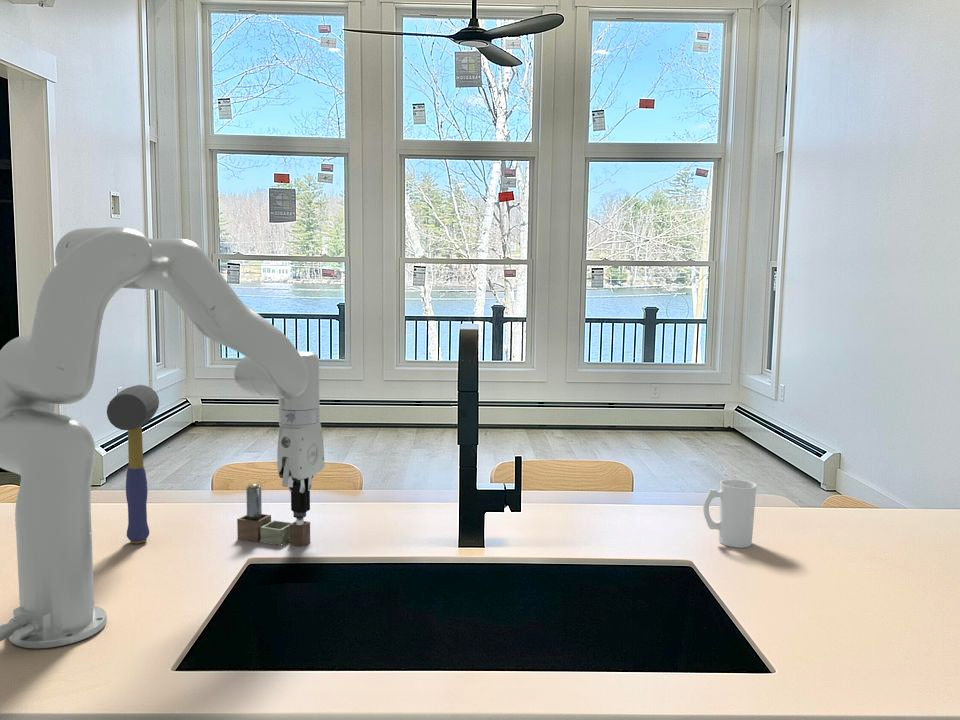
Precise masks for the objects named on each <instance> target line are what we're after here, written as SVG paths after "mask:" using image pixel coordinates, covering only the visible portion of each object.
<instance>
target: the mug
mask: <svg viewBox="0 0 960 720" xmlns="http://www.w3.org/2000/svg"><path fill="white" fill-rule="evenodd" d="M719 484H720V486H719V490H717V489H716V488H715V489H713V488H709V490H708V493H707V494H706V497H705V499H704V502H703V515H704V518H705V522H706V524H707V527H708V528H709V530H716V531H717V530H718V542H719V543H720V544H721V545H723V546H726V547H730V548H738V549H743V548H744V549H745V548H749V547H751V545H752V542H753V533H754V532H753V531H754V522H755V521H754V520H755V506H756V495H757V484H756V483H755V482H751V481H748V480H743V479H732V478H731V479H730V478H729V479H724V480H720V482H719ZM715 498H719V506H718V507H719V510H718V513H719V514H718V516H719V519H718V521H714V520H712V517H711V515H710V506H711V505H710V504H711V501H712V500H714V499H715Z"/></svg>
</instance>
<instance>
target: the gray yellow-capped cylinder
mask: <svg viewBox="0 0 960 720" xmlns="http://www.w3.org/2000/svg"><path fill="white" fill-rule="evenodd" d="M245 489H246V515H247V520H253V521H258V520H260V519H262V514H263V513H262V508H263V507H262V486H261V485H260V483H258V482H251V483H248V486H246V488H245Z"/></svg>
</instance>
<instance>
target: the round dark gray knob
mask: <svg viewBox="0 0 960 720" xmlns="http://www.w3.org/2000/svg"><path fill="white" fill-rule="evenodd" d="M292 512H293V514H292V515H293V516H292V517H293V518H295V521H296V525H304V521H305V518H306V517H307V512H305V513H303V512H295V511H292Z"/></svg>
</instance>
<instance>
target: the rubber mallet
mask: <svg viewBox="0 0 960 720" xmlns="http://www.w3.org/2000/svg"><path fill="white" fill-rule="evenodd" d="M159 405H160V398H159V396H158V393H157V392H156V391H155V390H154V389H153V388H151V387H150V386H147V385H143V384H136V385H132V386H129V387H127V388H124V389H123V390H120V391H118V392H117V394H116V395H115V396H114V397H113V398H112V399H111V400H110V401H109V403H108V405H107V407H106V416H107V420H109V423H110V424H111V425H112V426H113V427H114V428H117V429H119V430H120V431H127V446H128V453H127V454H128V455H127V456H128V468H127V470H126V477H125V478H126V479H125V496H126V503H127V514H128V515H127V517H128V519H127V521H128V523H127V529H126V538H127V539H128V541H130V543H131V544H141V543H145V542H146V541H148V540H147V539H148V538H149V536H150V528H149V524H148V515H147V514H148V513H147V503H148V501H147V500H148V493H149V492H148V480H147V474H146V469H145V467H144V453H143V452H144V447H143V425H145V424H147V423H148V422H149V421H150V420H151V419H152V418H153V417H154V415H155V414H156V413H157V410H158V409H159V407H160V406H159Z"/></svg>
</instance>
